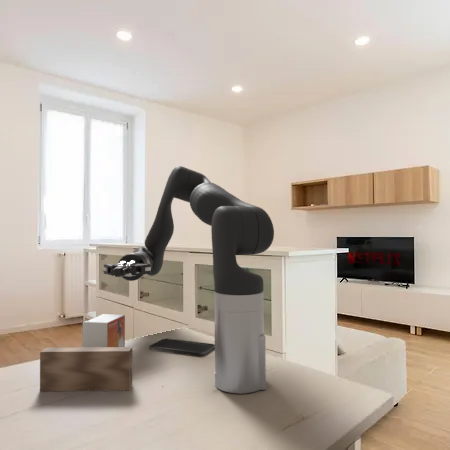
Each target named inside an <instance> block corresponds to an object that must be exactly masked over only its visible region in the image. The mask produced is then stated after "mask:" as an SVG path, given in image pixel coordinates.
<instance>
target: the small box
mask: <svg viewBox="0 0 450 450" xmlns="http://www.w3.org/2000/svg"><path fill="white" fill-rule="evenodd" d="M125 325H126V315H125V314H112V313H111V314H110V313H108V314H107V313H102V314H100V315H98V316H95V317H93V318H91V319H89V320H85V321H83V322H82V347H126V345H125V344H126V343H125V342H126V340H125V339H126V337H125V336H126V326H125Z"/></svg>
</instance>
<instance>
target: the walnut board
mask: <svg viewBox="0 0 450 450" xmlns="http://www.w3.org/2000/svg"><path fill="white" fill-rule="evenodd" d="M132 386H133V346H125V347H83V346H82V347H45V348H44V349H42V350H41V351H40V352H39V392H77V391H78V392H79V391H80V392H82V391H83V392H85V391H86V392H93V391H94V392H95V391H96V392H98V391H99V392H100V391H101V392H102V391H107V392H108V391H111V392H112V391H130V390H131V388H132Z"/></svg>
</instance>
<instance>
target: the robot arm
mask: <svg viewBox="0 0 450 450" xmlns="http://www.w3.org/2000/svg"><path fill="white" fill-rule="evenodd" d="M174 199H177V200H181V201H184V202H186V203H189V207H190V209H191V211H192V213H193V214H194V215H195V217H197V218H198V219H199V220H200V221H201V222H203V223H204V224H206V225H207V226H210V227H211V230H210V232H211V246H212V247H211V249H212V271H213V272H212V273H213V283H214V287H213V288H214V291H213V292H214V344H215V349H214V386H215V387H216V388H217V389H219V390H221V391H223V392H227V393H230V394H231V393H232V394H249V393H255V392H257V391H261V390H263V391H264V390H265V391H266V389H267V379H266V377H267V369H266V368H267V365H266V361H267V359H266V356H267V355H266V351H267V350H266V347H267V346H266V335H265V331H264V330H265V318H264V317H265V315H264V312H265V311H264V307H265V306H264V304H265V303H264V299H265V298H264V296H265V295H264V279H263V277H262V276H261V275H260V274H257V273H254V272H252V271H251V272H250V271H247V270H245V269H244V268H242V267H241V266H240V265H239V264H238V261H237V256H248V255H249V256H250V255H251V256H253V255H258V254H262V253H264V252H265V251H267V250H269V249H270V247H271V245H272V243H273V241H274V237H275V229H274V224H273V221H272V218H271V217H270V216H269V214H268V212H266V211H265V210H264V208H262V207H260V206H258V205H257V206H256V205H253V204H250V203H248V202H245V201H243V200H242V199H240V198H238V197H237V196H235V195H234V194H232V193H230V192H229V191H227V190H226V189H225V188H223V187H221V186H220V185H218V184H216V183H214V182H211V181H210V179H209V178H208V177H207V176H206V175H204V174H203V173H201V172H198V171H196V170H193V169H191V168H187V167H185V166H181V165H177V166H175V167H174V168H173V169H172V170H171V172H170V174H169V175H168V178H167V181H166V182H165V186H164V190H163V193H162V195H161V199H160V202H159V204H158V208H157V211H156V215H155V218H154V220H153V222H152V225H151V227H150V229H149V231H148V233H147V235H146V237H145V240H144V246H139V247H136V249H135V250H134V251H133V252H131V253H126V254H125V255H123V256H121V258H119V260H118V263H114V264H108V263H105V264H103V274H104V275H108V276H112V277H113V276H114V277H115V278H122V279H123V280H125V281H129V282H134V281H137V280H139V279H141V278H142V277H144V276H146V275H147V276H149V277H153V276H156V275H158V274H159V273H160V271H161V270H162V267H163V264H164V255H165V251H166V249H167V247H168V245H169V243H170V240H171V239H172V237H173V234H174V230H175V229H174V228H175V225H174V219H173V213H172V203H173V200H174Z"/></svg>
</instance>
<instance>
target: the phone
mask: <svg viewBox="0 0 450 450" xmlns="http://www.w3.org/2000/svg"><path fill="white" fill-rule="evenodd" d="M148 347H149V348H148V349H149V350H150V351H154V352H155V351H156V352H164V353H170V354H177V355H184V356H192V357H205V356H207V355H209V353H211V352H212V351H215V343H209V342H199V341H193V340H184V339H175V338H174V339H173V338H162V339H160V340H158V341H156V342H153V343H151V344H149V346H148Z"/></svg>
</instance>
